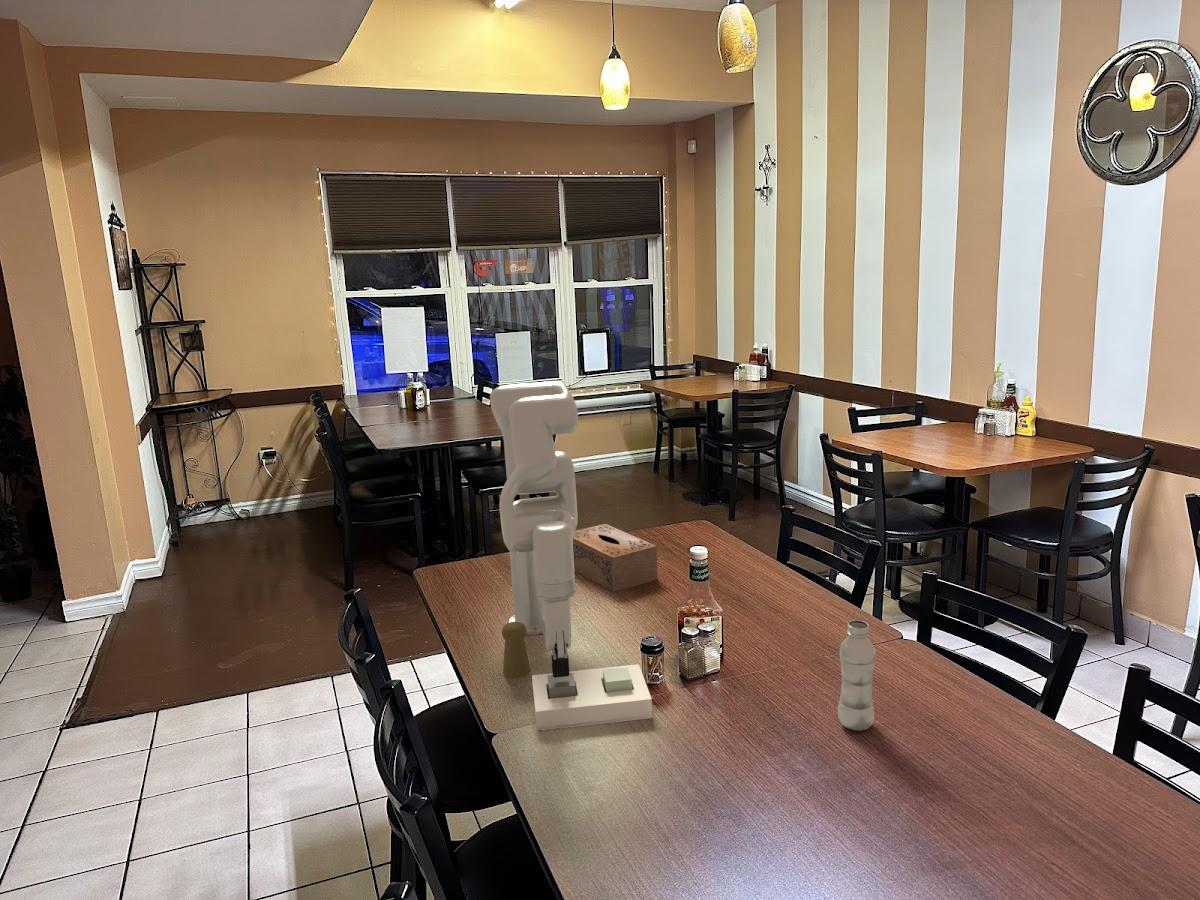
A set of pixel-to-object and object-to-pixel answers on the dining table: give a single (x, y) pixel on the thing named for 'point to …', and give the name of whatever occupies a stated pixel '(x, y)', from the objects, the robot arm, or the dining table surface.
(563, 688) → the charcoal key
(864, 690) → the plastic bottle
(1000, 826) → the dining table surface
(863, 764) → the dining table surface
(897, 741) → the dining table surface
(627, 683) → the sage key
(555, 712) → the key panel
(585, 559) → the tissue box cover
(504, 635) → the brown pawn
